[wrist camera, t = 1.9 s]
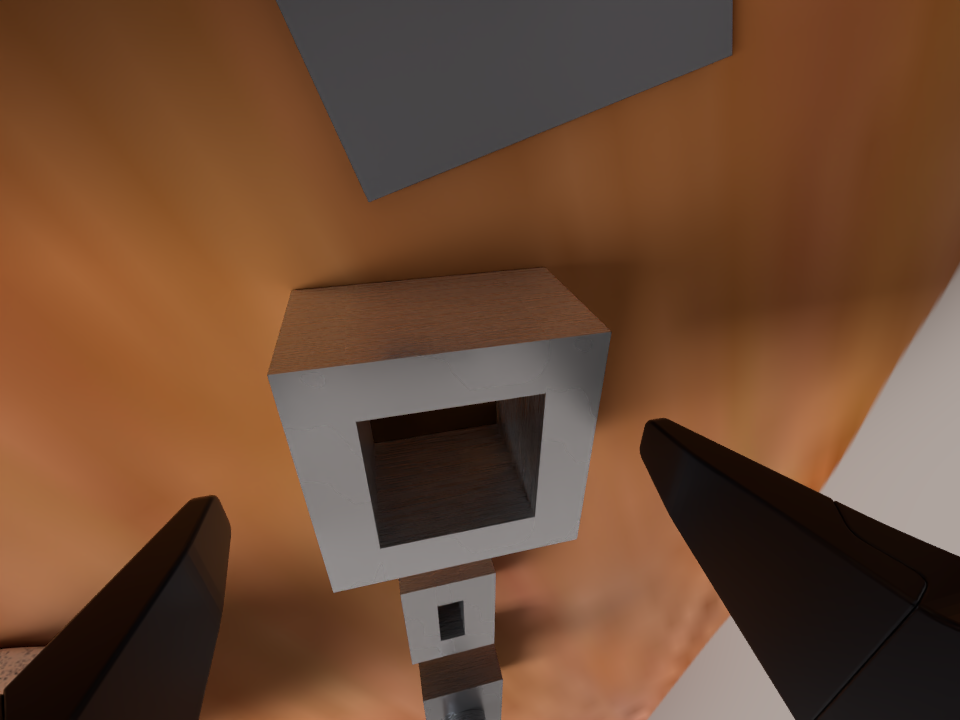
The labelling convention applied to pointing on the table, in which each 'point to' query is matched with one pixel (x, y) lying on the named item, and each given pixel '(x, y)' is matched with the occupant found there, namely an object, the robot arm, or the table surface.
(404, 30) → the grey peg holder
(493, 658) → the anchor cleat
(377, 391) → the end link
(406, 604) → the link
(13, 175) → the table surface
